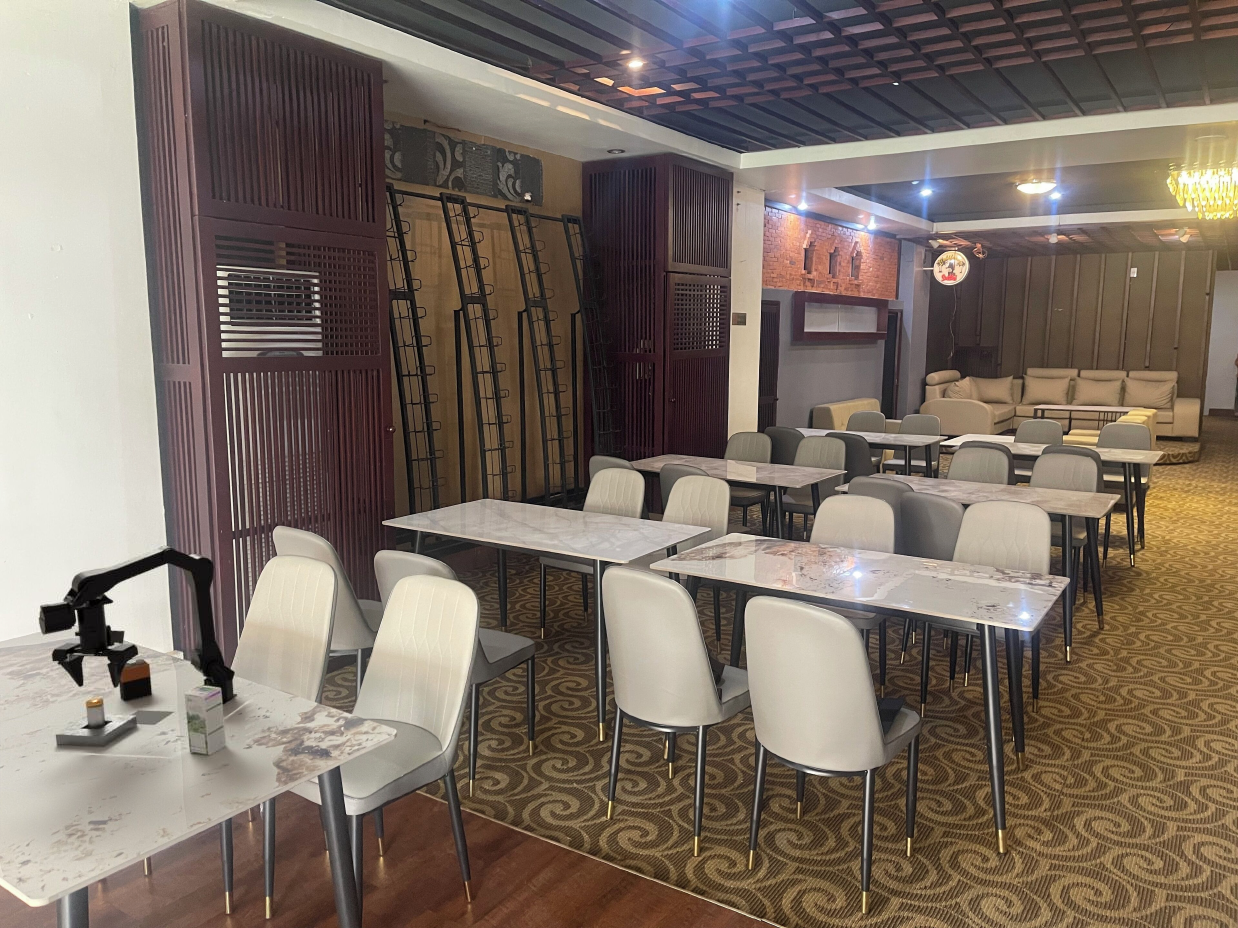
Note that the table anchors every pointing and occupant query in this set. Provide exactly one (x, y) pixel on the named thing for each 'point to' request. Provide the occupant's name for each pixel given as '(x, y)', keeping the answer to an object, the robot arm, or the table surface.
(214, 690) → the syrup box
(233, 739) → the table surface
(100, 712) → the silver copper cylinder
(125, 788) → the table surface
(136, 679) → the battery
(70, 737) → the block
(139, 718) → the mat
